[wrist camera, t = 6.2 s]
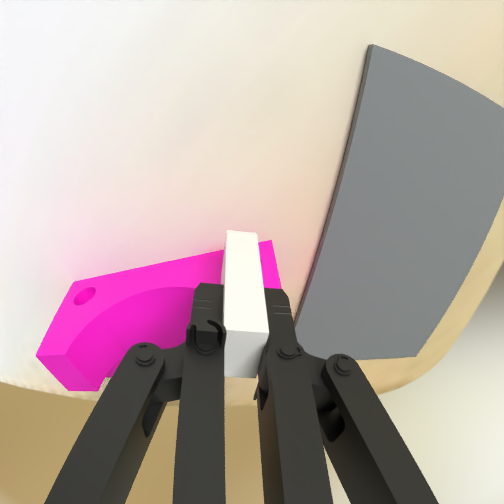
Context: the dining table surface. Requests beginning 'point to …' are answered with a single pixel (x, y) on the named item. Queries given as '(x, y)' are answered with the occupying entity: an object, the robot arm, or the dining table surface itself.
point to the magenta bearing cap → (130, 315)
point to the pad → (403, 212)
